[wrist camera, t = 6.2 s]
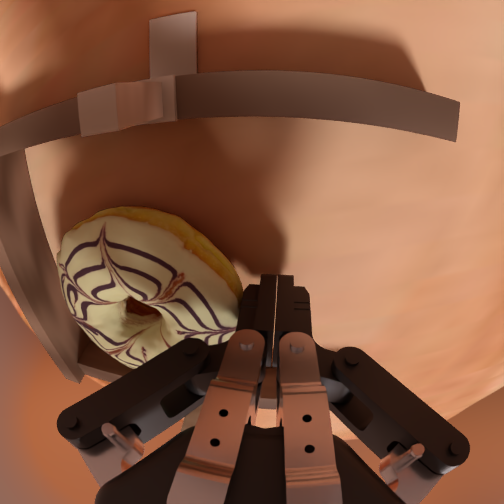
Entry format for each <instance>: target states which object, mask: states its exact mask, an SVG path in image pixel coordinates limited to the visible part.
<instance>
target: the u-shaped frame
mask: <svg viewBox="0 0 504 504" xmlns="http://www.w3.org/2000/svg"><path fill="white" fill-rule="evenodd" d="M149 60H150V79H144V80H139V81H134V82H121V83H112V84H108V85H104V86H101V87H97V88H93V89H90V90H86V91H83V92H80V93H77V97H76V98H73V99H69V100H66V101H63V102H60V103H57V104H54V105H52V106H49V107H46V108H43V109H41V110H38V111H36V112H33V113H31V114H28V115H26V116H23V117H21V118H19V119H16V120H14V121H12V122H10V123H7V124H5V125H3V126H1V127H0V267H1V269H2V271H3V274H4V276H5V278H6V280H7V282H8V284H9V286H10V288H11V291H12V293H13V295H14V296H15V298H16V300H17V302H18V304H19V306H20V308H21V310H22V311H23V313H24V315H25V317H26V319H27V320H28V322H29V324H30V325H31V327H32V329H33V330H34V332H35V334H36V335H37V337H38V339H39V340H40V342H41V343H42V345H43V346H44V348H45V349H46V351H47V352H48V354H49V355H50V356H51V358H52V360H53V361H54V362H55V364H56V365H57V367H58V368H59V369H60V371H61V372H62V373H63V375H64V376H65V377H66V379H69V380H71V381H74V382H77V383H79V384H80V382H81V380H82V378H83V377H84V375H85V374H86V375H89V376H92V377H95V378H98V379H101V380H105V381H108V382H114V381H115V380H117V379H119V378H121V377H122V376H124V375H126V374H127V373H129V372H131V371H132V370H134V369H133V368H130V367H128V366H126V365H124V364H123V363H121V362H119V361H118V360H116V359H115V358H113V357H112V356H110V355H109V354H108V353H106V352H105V351H103V350H102V349H101V348H100V347H99V346H98V345H96V344H95V343H94V342H93V341H92V340H90V338H89V337H88V335H87V334H86V333H85V332H84V330H83V329H82V328H81V326H80V325H79V324H78V323H77V322H76V321H75V320H74V318H73V316H72V314H71V312H70V311H69V309H68V306H67V304H66V302H65V299H64V296H63V293H62V290H61V285H60V278H59V274H58V269H57V267H56V264H55V261H54V259H53V256H52V253H51V250H50V248H49V245H48V242H47V239H46V236H45V233H44V230H43V226H42V223H41V220H40V216H39V213H38V209H37V206H36V202H35V198H34V194H33V190H32V186H31V182H30V177H29V173H28V168H27V163H26V157H25V152H24V148H28V147H31V146H35V145H38V144H42V143H45V142H49V141H53V140H57V139H61V138H65V137H69V136H74V135H78V134H81V137H86V136H91V135H96V134H102V133H108V132H114V131H119V130H122V129H125V128H128V127H131V126H136V125H144V124H152V123H161V122H171V121H177V120H178V119H191V118H207V117H238V116H263V117H294V118H310V119H323V120H334V121H344V122H352V123H360V124H367V125H374V126H381V127H387V128H393V129H398V130H404V131H409V132H414V133H419V134H423V135H428V136H432V137H437V138H441V139H445V140H449V141H453V142H456V138H457V130H458V120H459V109H460V102H458V101H455V100H452V99H449V98H445V97H442V96H439V95H435V94H432V93H428V92H425V91H421V90H417V89H413V88H409V87H405V86H400V85H396V84H391V83H386V82H381V81H376V80H370V79H364V78H358V77H351V76H343V75H335V74H326V73H315V72H300V71H276V70H247V71H222V72H208V73H197V12H196V11H193V12H187V13H181V14H175V15H170V16H165V17H160V18H155V19H151V20H149ZM276 374H277V368H268V367H266V373H265V378H264V381H263V387H262V392H261V397H260V402H259V407H258V408H261V409H276ZM202 405H203V404H202ZM202 405H200V406H199V407H198V408H196V409H195V410H193V411H192V412H191V413H189V414H188V415H186V416H185V418H184V421H183V425H182V429H181V431H184V430H185V429H187V428H190V427H192V426H196V423H197V420H198V417H199V414H200V411H201V408H202ZM329 410H330V409H329Z"/></svg>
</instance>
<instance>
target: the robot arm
mask: <svg viewBox="0 0 504 504" xmlns="http://www.w3.org/2000/svg"><path fill="white" fill-rule="evenodd" d="M276 282H277V275H271V274H261V280H260V285H255V284H249V285H248V287H247V288H246V289H245V290H244V292H243V297H242V301H241V307H240V311H239V316H238V321H237V326H236V330H235V333H234V334H233V335H232V336H231V337H230V339H229V340H227V341H225V342H223V343H220V344H214V345H207V344H206V343H205V342H204V341H203V340H201V339H199V338H186V339H183V340H181V341H180V342H178V343H176V344H175V345H173V346H172V347H170V348H168V349H167V350H165V351H163V352H162V353H160V354H159V355H157V356H155V357H154V358H152V359H150V360H149V361H147V362H146V363H144V364H142V365H141V366H139V367H137V368H136V369H134V370H132V371H131V372H129V373H127V374H126V375H124V376H122V377H121V378H119V379H117V380H115V381H114V382H112V383H110V384H109V385H107V386H105V387H103V388H102V389H100V390H98V391H97V392H95V393H93V394H91V395H90V396H88V397H86V398H84V399H83V400H81V401H79V402H77V403H76V404H74V405H72V406H70V407H68V408H67V409H65V410H63V411H62V412H61V414H60V415H59V417H58V420H57V428H58V431H59V433H60V434H61V435H62V436H63V437H64V438H65V439H66V440H68V441H69V442H70V443H71V444H72V445H73V446H74V447H75V448H77V449H78V451H79V452H80V454H81V456H82V458H83V459H84V461H85V463H86V465H87V466H88V468H89V470H90V472H91V473H92V474H93V476H94V478H95V479H96V481H97V483H98V484H99V486H100V487H101V488H100V490H99V491H98V493H97V495H96V499H95V504H419V503H420V502H421V501H422V500H423V499H424V498H425V496H426V495H427V494H428V493H429V492H430V491H431V490H432V488H433V487H434V486H435V485H436V484H437V482H438V481H439V480H440V479H441V477H442V476H443V475H444V474H446V473H448V472H449V471H451V470H453V469H454V468H456V467H458V466H459V465H461V464H462V463H464V462H465V460H466V459H467V458H468V455H469V452H470V445H469V442H468V439H467V438H466V437H465V436H464V435H463V434H462V433H461V432H459V431H458V430H457V429H456V428H455V427H453V426H452V425H451V424H450V423H449V422H447V421H446V420H445V419H444V418H443V417H441V416H440V415H439V414H438V413H437V412H435V411H434V410H433V409H432V408H431V407H429V406H428V405H427V404H426V403H425V402H423V401H422V400H421V399H420V398H419V397H417V396H416V395H415V394H414V393H413V392H411V391H410V390H409V389H408V388H407V387H405V386H404V385H403V384H402V383H401V382H399V381H398V380H397V379H396V378H395V377H393V376H392V375H391V374H390V373H389V372H387V371H386V370H385V369H384V368H383V367H382V366H380V365H379V364H378V363H377V362H376V361H374V360H373V359H372V358H371V357H370V356H368V355H367V354H366V353H365V352H364V351H362V350H361V349H359V348H356V347H344V348H342V349H340V350H339V351H337V352H334V351H330V350H327V349H324V348H322V347H320V346H319V345H318V344H317V343H316V342H315V341H314V339H313V337H312V326H311V311H310V297H309V293H308V292H307V290H306V289H305V287H299V286H294V276H293V275H278V286H277V303H276ZM275 303H276V319H275ZM274 319H275V334H274V350H273V365H272V367H277V374H276V427H273V428H266V429H264V428H260V427H257V426H255V423H256V416H257V411H258V407H259V402H260V397H261V392H262V387H263V381H264V378H265V373H266V366H267V367H271V359H272V346H273V333H274ZM202 404H203V405H202ZM200 405H202V408H201V411H200V414H199V417H198V420H197V423H196V426H192V427H190V428H187V429H185V430H184V431H182V432H180V433H179V434H177V435H176V436H175V437H173V438H172V439H171V440H169V441H168V442H166V443H165V444H164V445H162V446H161V447H160V448H158V449H157V450H155V451H154V452H152V453H151V454H149V455H148V456H147V457H145V458H144V459H142V460H141V461H139V462H138V463H136V462H137V461H138V460H139V459H141V457H142V456H143V454H144V443H146V442H148V441H149V440H151V439H152V438H154V437H155V436H157V435H158V434H160V433H161V432H163V431H164V430H166V429H167V428H169V427H170V426H172V425H173V424H175V423H176V422H178V421H179V420H181V419H182V418H183V417H185V416H186V415H188V414H189V413H191V412H192V411H193V410H195V409H196V408H198V407H199V406H200ZM329 409H330V410H331V411H332V412H333V413H334V414H335V415H336V416H337V417H338V418H339V419H340V420H341V421H342V422H343V423H344V424H345V425H346V426H347V427H348V428H349V429H350V430H351V431H352V432H353V433H354V434H355V435H356V436H357V437H358V438H359V439H360V440H361V441H362V442H363V443H364V444H365V445H366V446H367V447H368V448H369V449H370V450H372V451H373V452H374V453H375V454H376V455H377V456H378V457H379V458H380V459H381V462H380V465H379V471H380V474H381V476H382V477H383V479H384V480H385V482H386V484H385V482H384V481H383V480H382V479H381V478H379V476H378V475H377V474H376V473H375V472H374V471H373V470H372V469H371V468H370V467H369V466H368V465H367V464H366V463H365V462H364V461H363V460H362V459H361V458H360V457H359V456H358V455H357V454H356V453H355V451H354V450H353V449H352V448H351V447H350V446H349V445H348V444H347V443H346V442H344V441H343V440H342V439H340V438H339V437H337V436H335V435H333V434H332V427H331V420H330V412H329ZM135 463H136V464H135ZM134 464H135V465H134Z"/></svg>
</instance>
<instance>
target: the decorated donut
mask: <svg viewBox="0 0 504 504" xmlns="http://www.w3.org/2000/svg"><path fill="white" fill-rule="evenodd" d="M57 267H58V274H59V278H60V285H61V290H62V293H63V296H64V299H65V302H66V304H67V306H68V309H69V311H70V312H71V314H72V316H73V318H74V320H75V321H76V322H77V323H78V324H79V325H80V326H81V328H82V329H83V330H84V332H85V333H86V334H87V335H88V336H89V337H90V339H91V340H92V341H93V342H94V343H95V344H96V345H98V346H99V347H100V348H101V349H102V350H103V351H105V352H106V353H108V354H109V355H110V356H112V357H113V358H115V359H116V360H118V361H119V362H121V363H123V364H124V365H126V366H128V367H130V368H133V369H136V368H137V367H139V366H141V365H142V364H144V363H146V362H147V361H149V360H150V359H152V358H154V357H155V356H157V355H159V354H160V353H162V352H163V351H165V350H167V349H168V348H170V347H172V346H173V345H175V344H176V343H178V342H180V341H181V340H183V339H186V338H199V339H201V340H203V341H204V342H205V343H206V344H207V345H214V344H220V343H223V342H225V341H227V340H229V339H230V337H231V336H232V335H233V334H234V333H235V330H236V326H237V321H238V316H239V311H240V307H241V301H242V297H243V287H242V283H241V281H240V278H239V276H238V274H237V272H236V271H235V269H234V267H233V265H232V264H231V263H230V262H229V260H228V259H227V258H226V257H225V256H224V254H223V253H222V252H221V251H220V250H219V249H218V248H217V247H216V246H215V245H214V244H213V243H212V242H211V241H210V240H209V239H208V238H207V237H205V236H204V235H203V234H202V233H200V232H199V231H197V230H196V229H195V228H194V227H192V226H191V225H189V224H188V223H187V222H185V221H184V220H183V219H182V218H180V217H179V216H176V215H174V214H170V213H166V212H163V211H160V210H157V209H154V208H148V207H144V206H129V207H124V206H121V207H115V208H114V207H113V208H109V209H105V210H102V211H99V212H97V213H96V214H94V215H93V216H92V217H90V218H88V219H86V220H84V221H81V222H79V223H77V224H76V225H75V226H74V227H73V228H72V229H71V230H70V231H68V232H67V233H66V234H65V235H64V237H63V239H62V243H61V251H59V252H58V253H57ZM142 302H143V303H145V304H147V305H149V306H152V307H149V306H147V305H145V304H143V303H142Z"/></svg>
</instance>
